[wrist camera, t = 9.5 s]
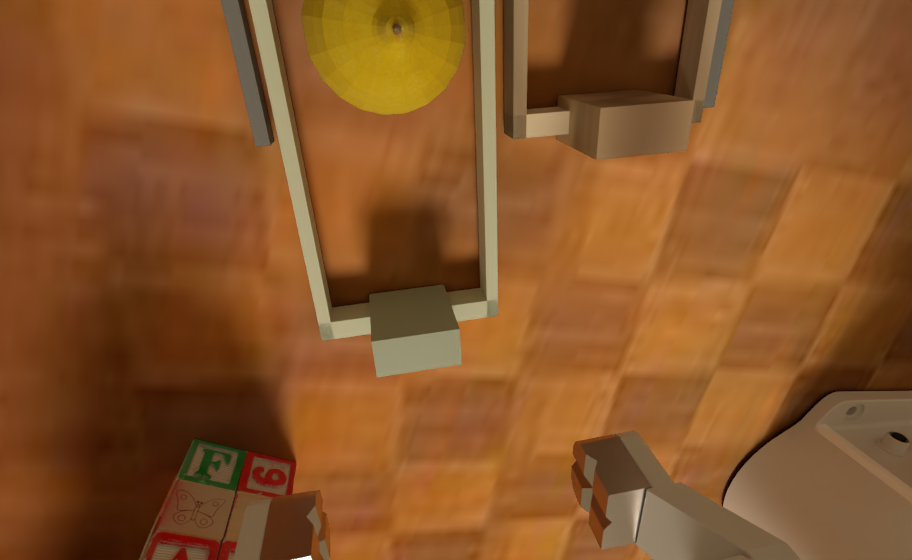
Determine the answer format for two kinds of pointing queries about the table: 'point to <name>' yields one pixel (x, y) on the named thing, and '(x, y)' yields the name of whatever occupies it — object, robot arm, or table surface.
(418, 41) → the fruit
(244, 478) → the stack of blocks
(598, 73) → the table surface
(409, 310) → the frame
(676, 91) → the frame
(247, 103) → the lane guides
